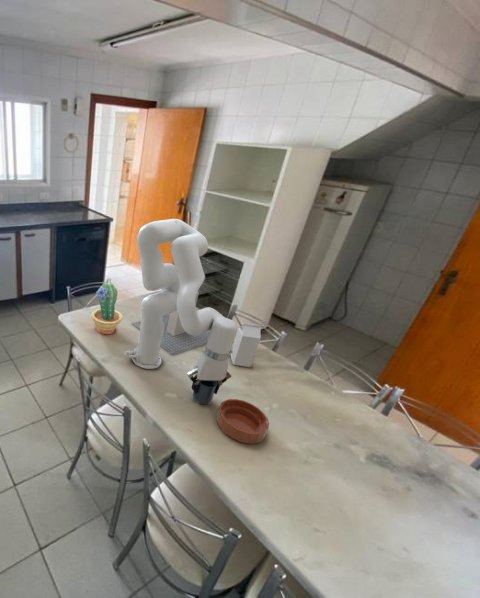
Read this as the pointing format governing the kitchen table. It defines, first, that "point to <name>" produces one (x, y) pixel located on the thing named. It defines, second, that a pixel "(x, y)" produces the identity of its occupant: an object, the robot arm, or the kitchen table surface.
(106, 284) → the potted cactus
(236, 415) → the bowl
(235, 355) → the milk carton
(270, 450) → the kitchen table surface
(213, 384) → the cup
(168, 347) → the grey base with block
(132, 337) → the kitchen table surface
